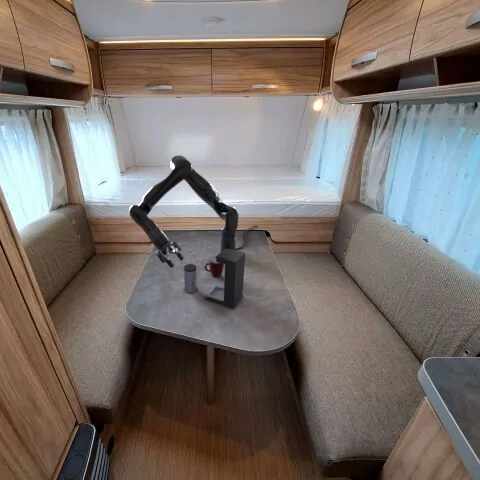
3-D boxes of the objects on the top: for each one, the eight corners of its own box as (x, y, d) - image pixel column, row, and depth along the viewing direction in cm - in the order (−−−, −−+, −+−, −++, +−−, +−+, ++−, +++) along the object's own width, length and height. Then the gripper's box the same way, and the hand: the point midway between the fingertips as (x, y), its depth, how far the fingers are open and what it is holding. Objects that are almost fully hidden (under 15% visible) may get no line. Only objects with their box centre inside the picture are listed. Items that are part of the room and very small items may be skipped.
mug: (204, 279, 144) (204, 263, 140) (204, 271, 151) (204, 256, 147) (223, 279, 144) (224, 263, 140) (223, 272, 151) (223, 256, 147)
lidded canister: (186, 285, 139) (186, 263, 134) (198, 286, 137) (197, 264, 132) (182, 291, 133) (182, 269, 128) (194, 293, 132) (194, 270, 127)
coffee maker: (205, 299, 128) (205, 254, 118) (216, 287, 137) (216, 245, 127) (233, 308, 121) (235, 262, 112) (242, 296, 130) (245, 252, 121)
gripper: (152, 238, 126) (173, 265, 125) (170, 229, 137) (189, 254, 137) (145, 246, 130) (165, 272, 130) (162, 236, 142) (181, 260, 141)
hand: (177, 263), depth 133 cm, fingers open, 8 cm apart
